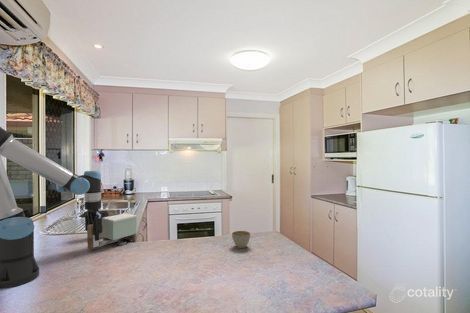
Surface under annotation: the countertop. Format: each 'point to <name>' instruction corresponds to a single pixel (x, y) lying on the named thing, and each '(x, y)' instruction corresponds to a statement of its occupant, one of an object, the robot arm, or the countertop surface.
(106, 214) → the coffee cup
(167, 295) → the countertop surface
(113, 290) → the countertop surface
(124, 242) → the token
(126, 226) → the pale green box
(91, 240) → the brown angled piece
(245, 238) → the flower pot
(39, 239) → the countertop surface
